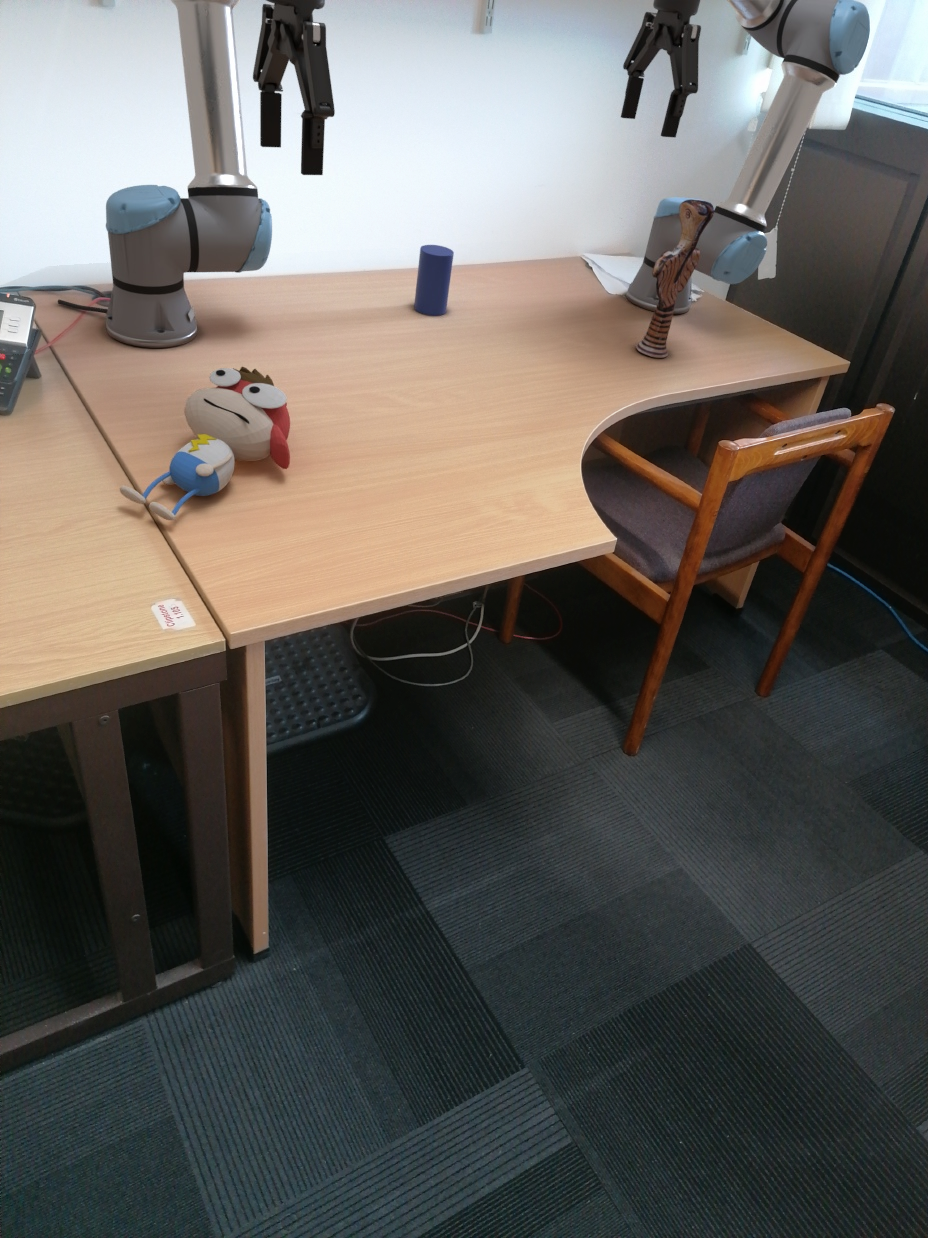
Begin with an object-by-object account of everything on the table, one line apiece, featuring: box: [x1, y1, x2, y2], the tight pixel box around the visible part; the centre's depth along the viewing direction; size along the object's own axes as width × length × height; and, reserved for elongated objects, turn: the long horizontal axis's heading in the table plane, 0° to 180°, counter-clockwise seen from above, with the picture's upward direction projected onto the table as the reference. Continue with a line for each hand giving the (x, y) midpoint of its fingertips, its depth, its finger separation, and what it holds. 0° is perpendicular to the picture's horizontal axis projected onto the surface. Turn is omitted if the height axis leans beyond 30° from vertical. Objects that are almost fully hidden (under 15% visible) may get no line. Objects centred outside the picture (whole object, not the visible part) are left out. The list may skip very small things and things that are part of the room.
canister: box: [413, 244, 455, 317], centre depth 182 cm, size 7×7×12 cm
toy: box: [119, 366, 291, 521], centre depth 123 cm, size 18×10×30 cm
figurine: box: [635, 198, 715, 359], centre depth 176 cm, size 15×8×30 cm, turn 144°
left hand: (290, 160), depth 119 cm, fingers open, 13 cm apart
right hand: (647, 127), depth 160 cm, fingers open, 13 cm apart
